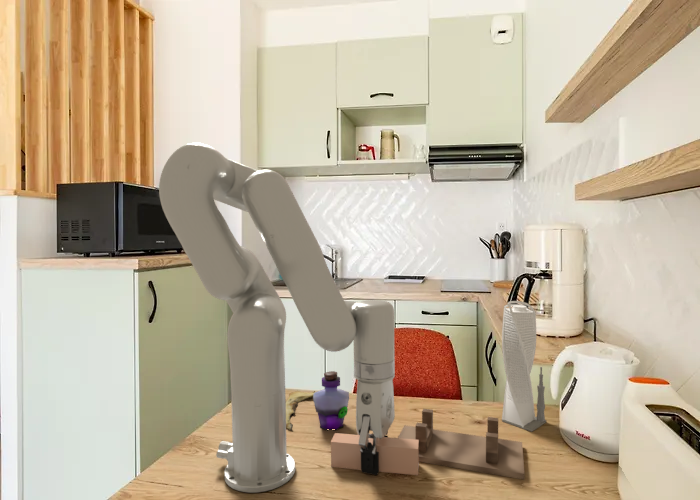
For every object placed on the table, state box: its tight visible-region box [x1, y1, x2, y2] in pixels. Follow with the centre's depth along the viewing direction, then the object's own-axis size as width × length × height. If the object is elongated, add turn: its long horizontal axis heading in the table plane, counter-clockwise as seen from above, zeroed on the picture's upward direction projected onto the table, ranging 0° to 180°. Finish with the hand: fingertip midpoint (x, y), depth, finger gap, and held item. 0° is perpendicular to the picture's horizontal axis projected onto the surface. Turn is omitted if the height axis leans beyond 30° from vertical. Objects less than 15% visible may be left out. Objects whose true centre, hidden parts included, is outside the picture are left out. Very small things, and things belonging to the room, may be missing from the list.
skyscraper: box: [501, 300, 547, 432], centre depth 98 cm, size 8×8×28 cm
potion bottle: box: [312, 370, 350, 432], centre depth 98 cm, size 9×9×12 cm
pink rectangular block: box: [330, 432, 420, 476], centre depth 81 cm, size 16×4×5 cm, turn 79°
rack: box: [397, 408, 525, 480], centre depth 86 cm, size 24×12×6 cm, turn 70°
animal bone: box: [286, 390, 316, 431], centre depth 106 cm, size 21×2×10 cm
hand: (374, 462), depth 81 cm, fingers open, 5 cm apart
